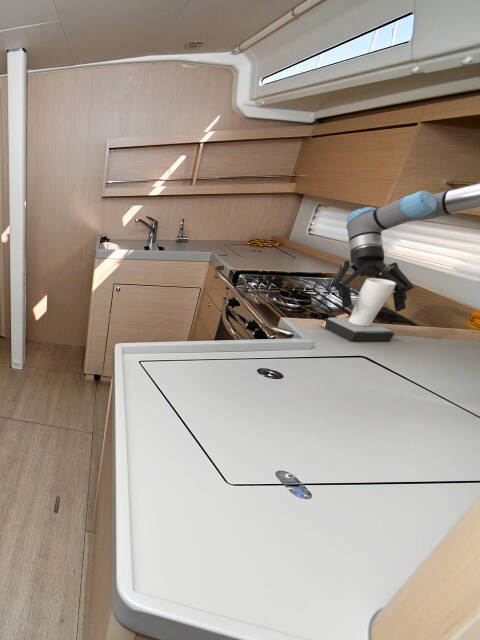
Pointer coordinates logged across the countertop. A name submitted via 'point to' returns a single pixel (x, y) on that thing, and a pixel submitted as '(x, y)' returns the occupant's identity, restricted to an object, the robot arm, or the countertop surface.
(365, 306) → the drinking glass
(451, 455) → the countertop surface
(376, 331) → the kitchen scale
